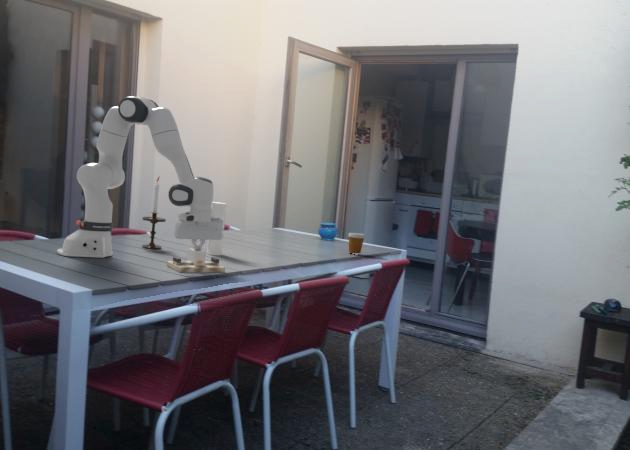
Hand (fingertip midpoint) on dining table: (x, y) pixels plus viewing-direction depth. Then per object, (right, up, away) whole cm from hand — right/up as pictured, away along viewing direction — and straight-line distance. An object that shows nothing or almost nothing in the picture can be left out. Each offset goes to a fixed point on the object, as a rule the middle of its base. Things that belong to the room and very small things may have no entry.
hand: (197, 249), depth 271 cm
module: (-1, -6, +1) cm, 6 cm away
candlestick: (-30, -1, +45) cm, 54 cm away
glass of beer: (+71, -7, +102) cm, 124 cm away
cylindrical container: (0, -4, +47) cm, 47 cm away
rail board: (-1, -8, +1) cm, 8 cm away
